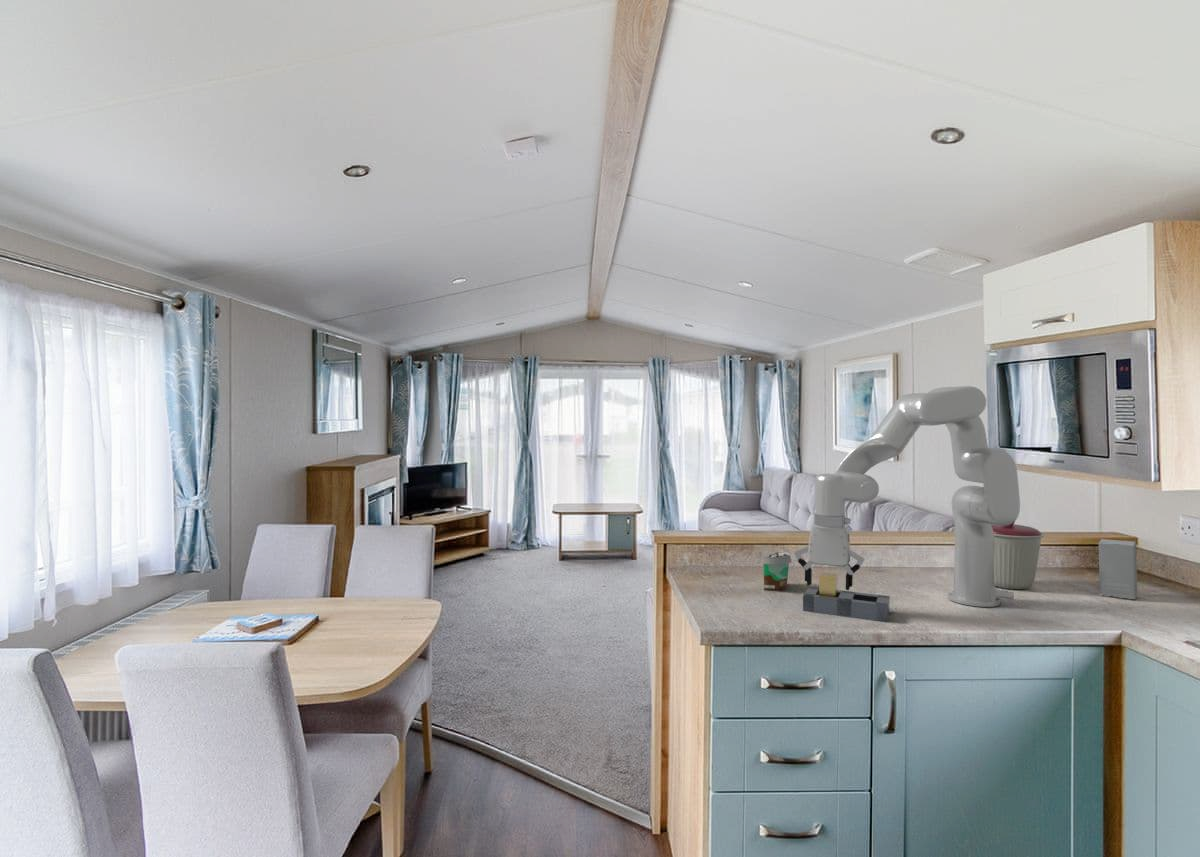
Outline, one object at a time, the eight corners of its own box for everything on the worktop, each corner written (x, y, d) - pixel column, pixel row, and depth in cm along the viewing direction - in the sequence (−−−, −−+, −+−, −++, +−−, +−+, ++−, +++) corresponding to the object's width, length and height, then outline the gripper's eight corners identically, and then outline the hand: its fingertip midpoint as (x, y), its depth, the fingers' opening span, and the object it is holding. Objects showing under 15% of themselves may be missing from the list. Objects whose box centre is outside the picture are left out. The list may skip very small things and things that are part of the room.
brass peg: (836, 608, 174) (837, 573, 174) (835, 611, 170) (835, 577, 170) (821, 605, 176) (821, 572, 175) (818, 609, 172) (819, 575, 172)
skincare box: (1137, 596, 188) (1138, 541, 188) (1135, 601, 183) (1136, 544, 182) (1100, 591, 194) (1101, 537, 193) (1097, 595, 188) (1098, 540, 188)
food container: (783, 594, 186) (784, 559, 186) (762, 591, 190) (763, 556, 190) (795, 585, 197) (796, 551, 197) (775, 582, 200) (776, 549, 200)
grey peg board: (889, 611, 171) (889, 596, 171) (887, 622, 162) (887, 605, 162) (809, 601, 180) (809, 586, 180) (802, 610, 171) (803, 595, 171)
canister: (1057, 593, 190) (1058, 520, 190) (993, 593, 191) (995, 520, 190) (1018, 578, 208) (1020, 511, 208) (960, 577, 209) (961, 511, 208)
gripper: (866, 522, 172) (865, 587, 172) (797, 517, 180) (796, 579, 180) (863, 526, 165) (862, 594, 166) (792, 520, 173) (791, 585, 173)
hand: (828, 586), depth 173 cm, fingers open, 9 cm apart
